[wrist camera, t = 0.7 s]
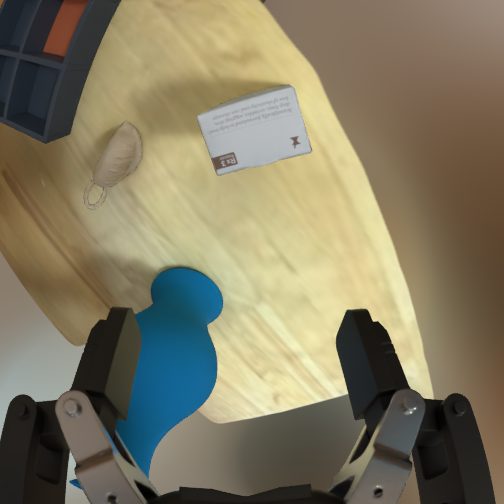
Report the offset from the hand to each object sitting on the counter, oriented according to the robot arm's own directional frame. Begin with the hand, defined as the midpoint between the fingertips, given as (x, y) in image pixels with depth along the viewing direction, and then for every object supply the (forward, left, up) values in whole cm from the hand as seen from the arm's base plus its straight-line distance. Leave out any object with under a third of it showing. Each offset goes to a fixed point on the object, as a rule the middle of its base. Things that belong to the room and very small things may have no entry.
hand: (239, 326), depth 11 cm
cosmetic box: (-5, -3, -22) cm, 22 cm away
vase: (+20, -1, -22) cm, 30 cm away
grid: (-2, -31, -21) cm, 38 cm away
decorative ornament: (+6, -15, -22) cm, 27 cm away
